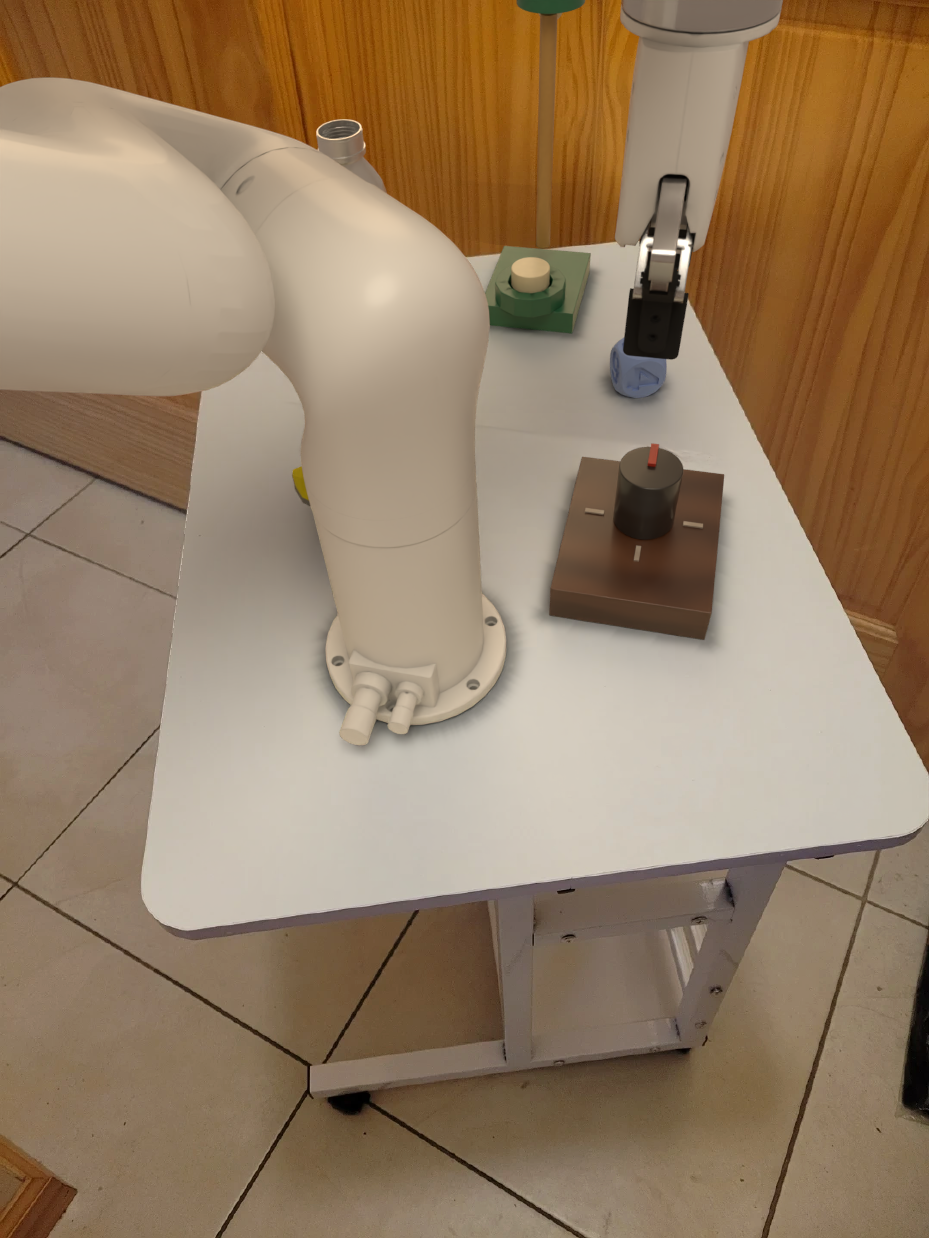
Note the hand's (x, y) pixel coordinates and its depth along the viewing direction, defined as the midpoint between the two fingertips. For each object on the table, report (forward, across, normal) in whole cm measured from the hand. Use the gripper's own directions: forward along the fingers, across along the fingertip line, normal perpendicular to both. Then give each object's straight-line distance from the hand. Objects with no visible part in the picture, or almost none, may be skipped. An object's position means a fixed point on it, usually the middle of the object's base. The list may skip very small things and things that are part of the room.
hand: (657, 308), depth 55 cm
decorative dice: (+19, -17, -1) cm, 26 cm away
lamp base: (+19, -30, -12) cm, 37 cm away
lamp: (+15, -33, -12) cm, 39 cm away
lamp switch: (+15, -26, -12) cm, 33 cm away
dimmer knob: (+16, +3, +1) cm, 16 cm away
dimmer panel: (+19, +4, +1) cm, 19 cm away
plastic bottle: (+19, -19, -26) cm, 38 cm away
